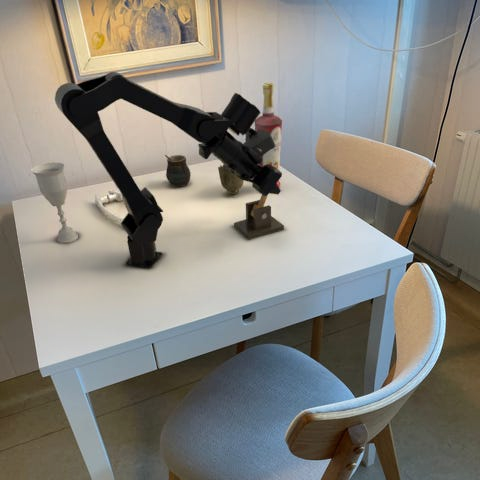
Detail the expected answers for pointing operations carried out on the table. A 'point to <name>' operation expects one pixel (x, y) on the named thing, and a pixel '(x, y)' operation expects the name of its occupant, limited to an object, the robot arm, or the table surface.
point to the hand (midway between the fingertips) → (273, 188)
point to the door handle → (112, 196)
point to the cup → (230, 181)
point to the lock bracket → (258, 222)
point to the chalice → (55, 194)
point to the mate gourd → (177, 171)
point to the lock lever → (260, 204)
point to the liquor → (270, 128)
